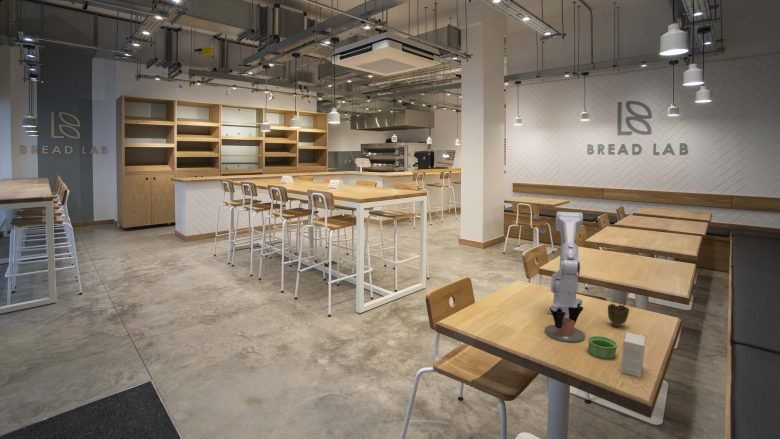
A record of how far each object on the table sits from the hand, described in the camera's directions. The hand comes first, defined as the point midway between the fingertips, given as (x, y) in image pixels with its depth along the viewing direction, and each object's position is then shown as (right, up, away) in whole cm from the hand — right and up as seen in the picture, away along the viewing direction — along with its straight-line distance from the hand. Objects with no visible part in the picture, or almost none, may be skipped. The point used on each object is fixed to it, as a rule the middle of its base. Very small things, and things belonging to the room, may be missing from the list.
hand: (565, 325), depth 153 cm
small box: (+10, -8, -24) cm, 28 cm away
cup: (+24, -3, +8) cm, 26 cm away
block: (0, -3, 0) cm, 3 cm away
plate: (0, -3, +1) cm, 3 cm away
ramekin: (+6, -6, -14) cm, 16 cm away
